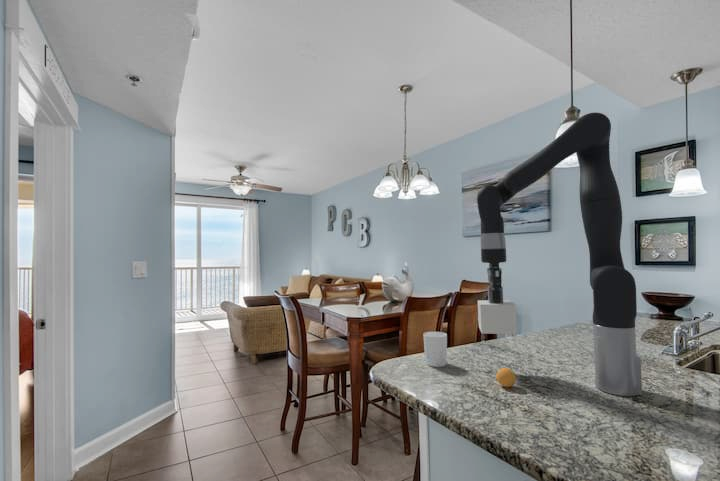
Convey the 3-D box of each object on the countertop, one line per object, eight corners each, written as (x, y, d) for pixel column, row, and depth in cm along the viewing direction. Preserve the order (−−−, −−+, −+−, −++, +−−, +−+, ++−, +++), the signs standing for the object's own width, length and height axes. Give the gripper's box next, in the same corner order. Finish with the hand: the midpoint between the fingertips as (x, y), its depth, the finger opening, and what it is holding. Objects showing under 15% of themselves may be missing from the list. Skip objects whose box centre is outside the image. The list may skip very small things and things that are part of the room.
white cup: (448, 368, 111) (447, 337, 112) (423, 367, 113) (423, 336, 113) (447, 360, 119) (446, 331, 120) (424, 359, 121) (423, 331, 121)
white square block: (511, 327, 113) (509, 285, 114) (517, 334, 103) (515, 288, 104) (478, 326, 115) (476, 285, 116) (481, 333, 106) (479, 288, 106)
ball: (514, 384, 97) (513, 366, 97) (517, 390, 92) (517, 372, 93) (495, 382, 98) (495, 364, 99) (497, 389, 94) (497, 370, 94)
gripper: (509, 246, 103) (512, 304, 102) (502, 247, 116) (504, 298, 116) (483, 247, 104) (485, 304, 104) (478, 248, 118) (481, 298, 117)
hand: (495, 301), depth 110 cm, fingers closed on white square block, 4 cm apart
